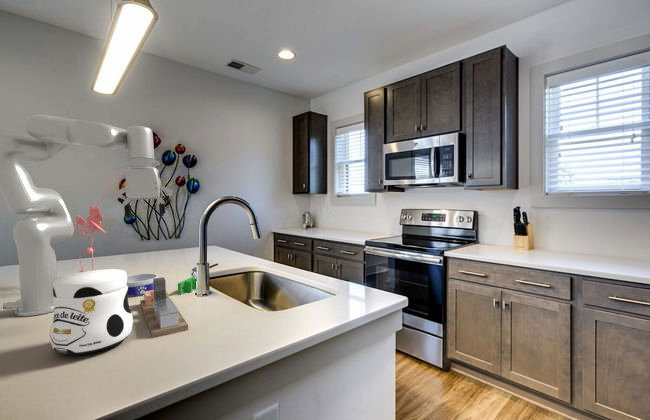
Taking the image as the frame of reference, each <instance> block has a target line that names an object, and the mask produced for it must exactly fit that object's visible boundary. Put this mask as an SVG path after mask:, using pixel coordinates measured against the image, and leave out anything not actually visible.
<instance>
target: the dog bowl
mask: <svg viewBox="0 0 650 420" xmlns="http://www.w3.org/2000/svg"><path fill="white" fill-rule="evenodd" d="M154 278H159V275H158V274H156V273H150V272H149V273H146V272H143V273H134V274H133V273H132V274H127V286H128V299H129V298H130V297H131V298H138V296H139V297H144V296H143V295H144V292H145V291H151V290H154V283H153V279H154Z"/></svg>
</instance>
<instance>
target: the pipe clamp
mask: <svg viewBox="0 0 650 420" xmlns="http://www.w3.org/2000/svg"><path fill="white" fill-rule="evenodd" d="M197 279H198V278H197V277H196V276H191V277H189V278H187V279H185V280H182V281H179V282H178V283H177V295H178V296H179V295H183V294H184V293H185V294H186V293H192V292H193V290H197V289H196V281H197Z"/></svg>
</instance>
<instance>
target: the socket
mask: <svg viewBox="0 0 650 420" xmlns="http://www.w3.org/2000/svg"><path fill="white" fill-rule="evenodd" d="M168 296H169V293H168V291H167V290H166V298H168ZM143 300H144V302H145V304H146V305H150V304H151V300H154V290H151V291H145V292H144V296H143Z"/></svg>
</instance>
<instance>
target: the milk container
mask: <svg viewBox="0 0 650 420" xmlns="http://www.w3.org/2000/svg"><path fill="white" fill-rule="evenodd" d="M84 271H85V272H80V271H79V272H74V273H73V272H72V273H70V274H65V275H62V276H59V277H58V276H57V278H56V279H55V280H54V283H53V295H54V296H53V306H54V311H53V317H52V323H51V325H50V330H49V339H50V340H49V341H50V345H51V347H52V349H53V350H54V351H55V352H56V353H59V354H61V355H67V356H68V355H69V356H76V355H77V356H78V355H86V354H91V353H95V352H100V351H103V350H106V349H110V348H112V347H114V346H116V345H118V344H120V343H122V342H123V341H124V340H126V339H127V338H128V337H129V335H130V334H131V332H132V330H133V323H134V322H133V321H134V320H133V318H134V317H133V314H132V310H131V308H130V304H129V298H128V286H127V276H128V274H127V271H125V270H124V269H114V268H110V269H108V268H107V269H94V270H93V269H92V270H84Z"/></svg>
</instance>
